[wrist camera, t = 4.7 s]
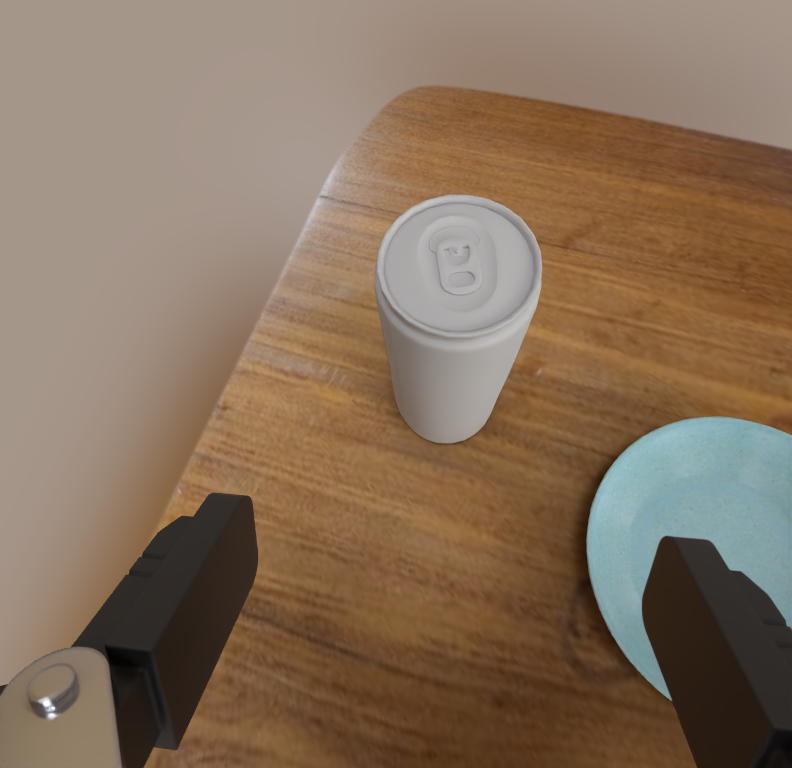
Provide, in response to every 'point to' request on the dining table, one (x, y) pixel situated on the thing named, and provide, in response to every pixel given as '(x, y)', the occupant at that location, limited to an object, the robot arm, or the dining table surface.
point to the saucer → (691, 517)
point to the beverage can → (454, 309)
